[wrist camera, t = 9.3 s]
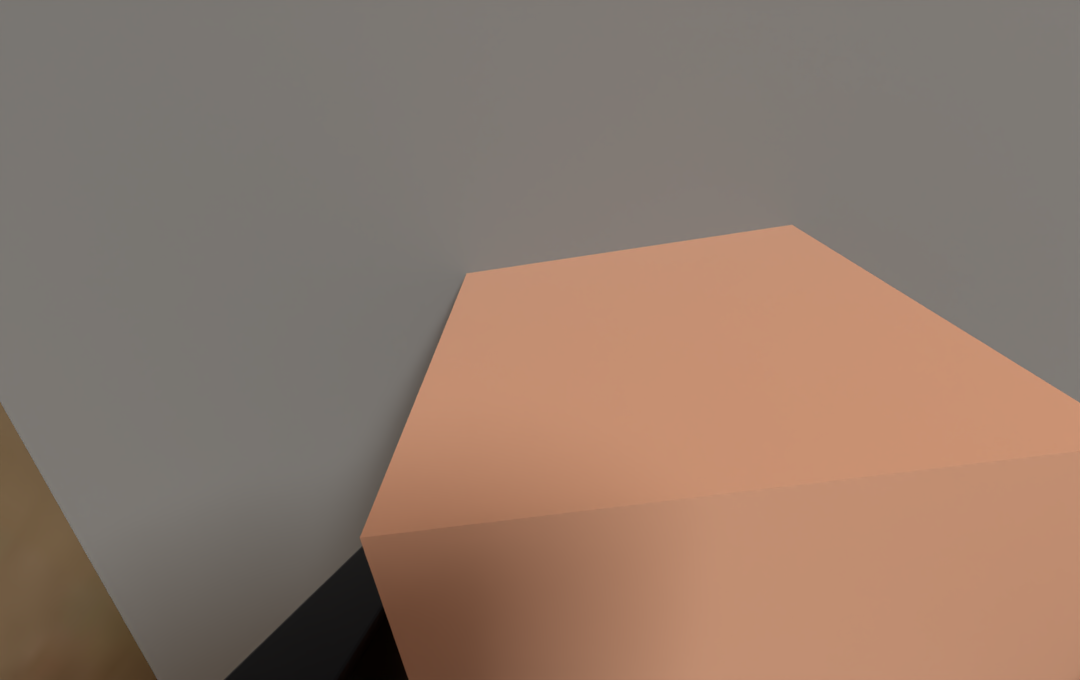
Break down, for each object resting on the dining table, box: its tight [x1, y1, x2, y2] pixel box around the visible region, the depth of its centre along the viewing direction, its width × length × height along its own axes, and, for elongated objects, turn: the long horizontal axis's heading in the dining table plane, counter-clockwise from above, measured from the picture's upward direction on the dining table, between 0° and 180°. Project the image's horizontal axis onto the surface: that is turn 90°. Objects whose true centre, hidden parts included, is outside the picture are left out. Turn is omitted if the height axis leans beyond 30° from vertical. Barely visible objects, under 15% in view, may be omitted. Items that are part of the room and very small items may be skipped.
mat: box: [0, 0, 1080, 680], centre depth 11 cm, size 22×16×1 cm
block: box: [360, 225, 1080, 680], centre depth 8 cm, size 5×5×6 cm
